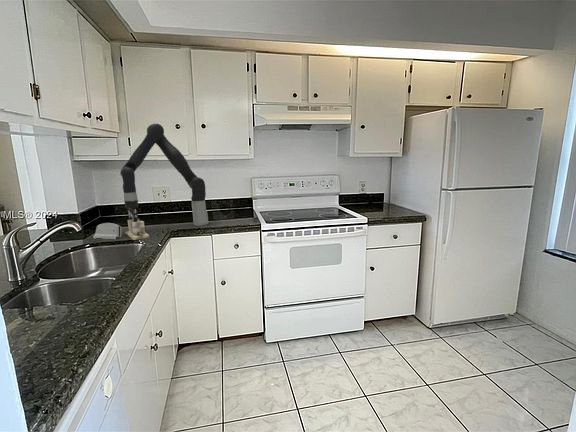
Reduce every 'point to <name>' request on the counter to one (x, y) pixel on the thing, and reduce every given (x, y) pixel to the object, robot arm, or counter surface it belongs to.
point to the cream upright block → (130, 225)
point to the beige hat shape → (137, 231)
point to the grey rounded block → (108, 231)
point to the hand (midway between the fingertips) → (134, 224)
